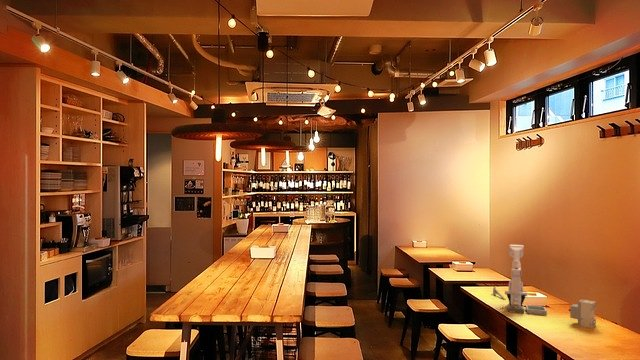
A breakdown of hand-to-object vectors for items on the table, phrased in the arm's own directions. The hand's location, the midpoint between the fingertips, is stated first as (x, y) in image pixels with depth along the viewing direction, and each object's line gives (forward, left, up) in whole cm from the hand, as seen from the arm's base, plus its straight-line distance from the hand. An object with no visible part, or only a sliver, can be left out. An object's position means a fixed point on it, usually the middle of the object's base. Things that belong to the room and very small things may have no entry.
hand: (515, 305), depth 334 cm
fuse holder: (0, 0, -3) cm, 3 cm away
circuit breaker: (+21, +37, -4) cm, 43 cm away
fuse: (0, 0, -3) cm, 3 cm away
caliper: (-40, -9, -4) cm, 41 cm away
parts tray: (0, +13, -3) cm, 13 cm away
